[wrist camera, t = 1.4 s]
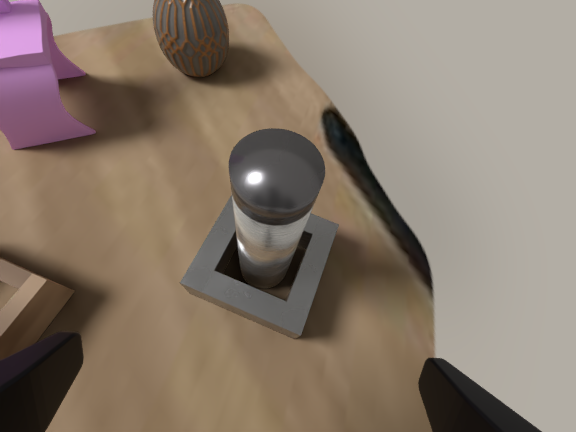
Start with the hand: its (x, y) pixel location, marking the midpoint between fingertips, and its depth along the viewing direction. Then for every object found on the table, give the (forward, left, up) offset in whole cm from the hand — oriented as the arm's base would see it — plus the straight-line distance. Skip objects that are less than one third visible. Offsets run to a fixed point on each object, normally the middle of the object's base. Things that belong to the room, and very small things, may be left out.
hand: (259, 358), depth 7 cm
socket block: (+6, +2, -13) cm, 14 cm away
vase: (+24, +18, -13) cm, 32 cm away
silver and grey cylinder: (+6, +2, -13) cm, 14 cm away
